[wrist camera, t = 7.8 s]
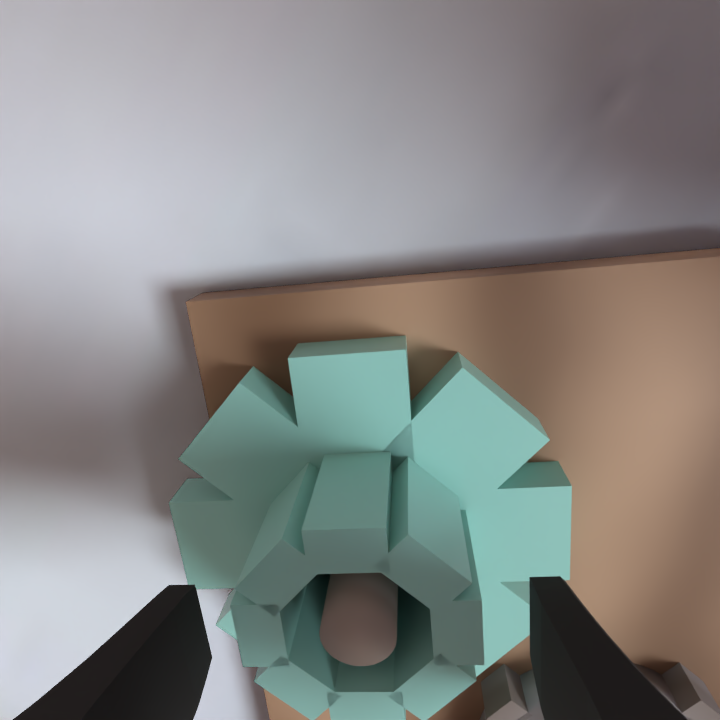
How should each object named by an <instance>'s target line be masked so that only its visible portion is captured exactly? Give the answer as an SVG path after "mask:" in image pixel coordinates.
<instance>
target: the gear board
mask: <svg viewBox="0 0 720 720" xmlns="http://www.w3.org/2000/svg"><path fill="white" fill-rule="evenodd" d="M186 306H187V311H188V316H189V321H190V326H191V331H192V336H193V341H194V346H195V351H196V356H197V361H198V365H199V370H200V375H201V380H202V385H203V390H204V395H205V400H206V405H207V410H208V415H209V420H210V419H211V417H212V416H213V415H214V414H215V412H216V411H217V410H218V409H219V407H220V406H221V405H222V404H223V402H224V401H225V400H226V399H227V397H228V396H229V395H230V394H231V392H232V391H233V390H234V389H235V387H236V386H237V385H238V384H239V382H240V381H241V380H242V379H243V378H244V376H245V375H246V374H247V373H248V372H249V371H250V369H251V368H252V367H253V366H254V367H255V368H256V369H258V370H259V371H260V372H262V373H263V374H264V375H265V376H267V377H268V378H269V379H271V380H272V381H273V382H275V383H276V384H277V385H278V386H280V387H281V388H282V389H284V390H285V391H286V392H287V393H289V394H290V395H291V396H293V391H292V384H291V377H290V370H289V364H288V357H289V355H290V354H291V353H292V351H293V350H294V348H295V347H296V345H297V344H298V343H310V342H323V341H337V340H350V339H364V338H377V337H390V336H404V335H406V343H407V356H408V369H409V382H410V395H411V401H412V400H413V399H414V398H415V396H416V395H417V394H418V393H419V392H420V391H421V390H422V389H423V388H424V387H425V386H426V385H427V384H428V383H429V382H430V381H431V380H432V378H433V377H434V376H435V375H436V374H437V373H438V372H439V371H440V370H441V369H442V368H443V367H444V366H445V365H446V364H447V363H448V361H449V360H450V359H451V358H452V357H453V356H454V355H455V354H456V353H457V352H459V353H460V354H461V355H462V356H464V357H465V358H466V359H467V360H468V361H470V362H471V363H472V364H473V365H474V366H476V367H477V368H478V369H479V370H480V371H482V372H483V373H484V374H485V375H486V376H488V377H489V378H490V379H491V380H492V381H494V382H495V383H496V384H497V385H498V386H500V387H501V388H502V389H503V390H504V391H506V392H507V393H508V394H509V395H510V396H512V397H513V398H514V399H515V400H516V401H518V402H519V403H520V404H521V405H522V406H524V407H525V408H526V409H527V410H528V411H529V412H531V413H532V414H533V415H534V416H535V417H537V418H538V420H539V421H540V423H541V425H542V427H543V428H544V430H545V432H546V434H547V436H548V437H549V439H550V441H548V442H547V443H546V444H545V445H544V446H543V447H542V448H541V449H540V450H539V451H538V452H537V453H535V454H534V455H533V456H532V457H531V458H530V459H529V460H528V461H527V462H526V463H530V462H551V461H558V462H559V463H560V465H561V467H562V469H563V471H564V473H565V474H566V476H567V478H568V480H569V482H570V483H571V485H572V503H571V549H570V580H565V581H566V582H567V584H568V585H569V586H570V588H571V589H572V590H573V592H574V593H575V594H576V596H577V597H578V598H579V600H580V601H581V602H582V603H583V605H584V606H585V607H586V608H587V610H588V611H589V612H590V614H591V615H592V616H593V617H594V618H595V620H596V621H597V622H598V623H599V624H600V626H601V627H602V628H603V629H604V630H605V632H606V633H607V634H608V635H609V636H610V638H611V639H612V640H613V641H614V642H615V643H616V644H617V646H618V647H619V648H620V649H621V650H622V651H623V652H624V653H625V654H626V656H627V657H628V658H629V659H630V660H631V661H632V662H633V663H634V665H635V666H636V667H637V668H638V669H639V670H640V671H641V672H642V673H643V674H644V675H645V676H646V678H647V679H648V680H649V681H650V682H651V683H652V684H653V685H654V686H655V687H656V688H657V689H658V690H659V691H660V692H661V693H662V694H663V695H664V696H665V697H666V698H667V699H668V700H669V701H670V702H671V703H672V704H673V705H674V706H675V707H676V708H677V709H678V710H679V711H680V712H681V713H682V714H683V715H684V716H685V717H686V718H687V719H688V720H720V248H714V249H702V250H691V251H679V252H668V253H656V254H644V255H633V256H621V257H610V258H598V259H587V260H575V261H564V262H552V263H541V264H529V265H517V266H506V267H494V268H483V269H471V270H460V271H448V272H437V273H425V274H414V275H402V276H390V277H379V278H367V279H356V280H344V281H333V282H321V283H310V284H298V285H287V286H275V287H263V288H252V289H240V290H229V291H217V292H206V293H202V294H200V295H198V296H196V297H194V298H192V299H190V300H188V301H187V302H186ZM397 606H398V585H397V584H396V583H394V582H393V581H392V580H390V579H389V578H388V577H386V576H385V575H384V574H382V573H344V574H330V579H329V584H328V589H327V594H326V599H325V604H324V609H323V614H322V620H321V625H320V631H319V634H320V640H321V643H322V645H323V647H324V648H325V650H326V651H327V652H328V653H329V654H330V655H331V656H332V657H334V658H335V659H337V660H338V661H340V662H343V663H345V664H349V665H353V666H369V665H374V664H377V663H379V662H381V661H383V660H385V659H386V658H387V657H388V656H389V655H390V654H391V653H392V652H393V650H394V648H395V646H396V641H397ZM476 680H477V681H476V682H474V683H473V684H472V685H470V686H469V687H468V688H467V689H465V690H464V691H463V692H462V693H460V694H459V695H458V696H457V697H455V698H454V699H453V700H451V701H450V702H449V703H448V704H446V705H445V706H444V707H443V708H441V709H440V710H439V711H437V712H436V713H435V714H434V715H432V716H431V717H430V718H429V719H427V720H544V717H543V714H542V710H541V707H540V702H539V697H538V693H537V688H536V683H535V678H534V673H533V668H532V663H531V658H530V635H529V636H527V637H526V638H525V639H524V640H522V641H521V642H520V643H519V644H517V645H516V646H515V647H514V648H512V649H511V650H510V651H509V652H507V653H506V654H505V655H503V656H502V657H501V658H500V659H498V660H497V661H496V662H495V663H493V664H492V665H491V666H490V667H488V668H487V669H486V670H484V671H483V672H482V673H481V674H479V675H478V676H477V677H476ZM264 693H265V698H266V703H267V708H268V713H269V718H270V720H310V719H308V718H307V717H305V716H304V715H302V714H301V713H299V712H298V711H297V710H295V709H294V708H292V707H291V706H289V705H288V704H286V703H285V702H283V701H282V700H280V699H279V698H277V697H276V696H274V695H273V694H271V693H270V692H268V691H267V690H265V689H264ZM315 720H331V718H330V712H329V708H328V709H327V710H325V711H324V712H323V713H322V714H321V715H320V716H318V717H317V718H316V719H315ZM406 720H421V719H419V718H418V717H416V716H415V715H414V714H412V713H411V712H409V711H408V710H406Z"/></svg>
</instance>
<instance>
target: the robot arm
mask: <svg viewBox="0 0 720 720" xmlns="http://www.w3.org/2000/svg"><path fill="white" fill-rule="evenodd" d="M529 589H530V658H531V663H532V668H533V673H534V678H535V683H536V688H537V693H538V697H539V702H540V707H541V710H542V714H543V717H544V720H688V719H687V718H686V717H685V716H684V715H683V714H682V713H681V712H680V711H679V710H678V709H677V708H676V707H675V706H674V705H673V704H672V703H671V702H670V701H669V700H668V699H667V698H666V697H665V696H664V695H663V694H662V693H661V692H660V691H659V690H658V689H657V688H656V687H655V686H654V685H653V684H652V683H651V682H650V681H649V680H648V679H647V678H646V676H645V675H644V674H643V673H642V672H641V671H640V670H639V669H638V668H637V667H636V666H635V665H634V663H633V662H632V661H631V660H630V659H629V658H628V657H627V656H626V654H625V653H624V652H623V651H622V650H621V649H620V648H619V647H618V646H617V644H616V643H615V642H614V641H613V640H612V639H611V638H610V636H609V635H608V634H607V633H606V632H605V630H604V629H603V628H602V627H601V626H600V624H599V623H598V622H597V621H596V620H595V618H594V617H593V616H592V615H591V614H590V612H589V611H588V610H587V608H586V607H585V606H584V605H583V603H582V602H581V601H580V600H579V598H578V597H577V596H576V594H575V593H574V592H573V590H572V589H571V588H570V586H569V585H568V584H567V582H566V581H565V580H564V579H563V578H561V577H560V576H549V577H529ZM211 659H212V655H211V651H210V647H209V642H208V638H207V634H206V630H205V625H204V621H203V617H202V612H201V608H200V604H199V600H198V595H197V591H196V587H195V585H169V586H167V587H166V588H165V589H164V590H163V591H162V592H160V593H159V594H158V595H157V596H156V597H155V598H154V599H152V600H151V601H150V602H149V603H148V604H147V605H146V606H145V607H144V608H143V609H142V610H140V611H139V612H138V613H137V614H136V615H135V616H134V617H133V618H132V619H131V620H130V621H128V622H127V623H126V624H125V625H124V626H123V627H122V628H121V629H120V630H119V631H118V632H116V633H115V634H114V635H113V636H112V637H111V638H110V639H109V640H108V641H106V642H105V643H104V644H103V645H102V646H101V647H100V648H99V649H98V650H96V651H95V652H94V653H93V654H92V655H91V656H90V657H89V658H87V659H86V660H85V661H84V662H83V663H82V664H80V665H79V666H78V667H77V668H76V669H74V670H73V671H72V672H71V673H70V674H69V675H67V676H66V677H65V678H64V679H63V680H61V681H60V682H59V683H58V684H57V685H55V686H54V687H53V688H52V689H51V690H49V691H48V692H47V693H46V694H45V695H44V696H42V697H41V698H40V699H39V700H37V701H36V702H35V703H34V704H32V705H31V706H30V707H29V708H27V709H26V710H25V711H23V712H22V713H21V714H20V715H18V716H17V717H16V718H14V719H13V720H193V718H194V716H195V713H196V711H197V708H198V705H199V702H200V698H201V695H202V692H203V688H204V685H205V681H206V678H207V674H208V670H209V667H210V663H211Z"/></svg>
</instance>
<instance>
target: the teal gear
mask: <svg viewBox="0 0 720 720" xmlns="http://www.w3.org/2000/svg"><path fill="white" fill-rule="evenodd" d="M288 364H289V370H290V377H291V384H292V391H293V396H291V395H290V394H289V393H287V392H286V391H285V390H284V389H282V388H281V387H280V386H278V385H277V384H276V383H275V382H273V381H272V380H271V379H269V378H268V377H267V376H265V375H264V374H263V373H262V372H260V371H259V370H258V369H256V368H255V367H254V366H253V367H252V368H251V369H250V371H249V372H248V373H247V374H246V375H245V376H244V378H243V379H242V380H241V381H240V382H239V384H238V385H237V386H236V387H235V389H234V390H233V391H232V392H231V394H230V395H229V396H228V397H227V399H226V400H225V401H224V402H223V404H222V405H221V406H220V407H219V409H218V410H217V411H216V412H215V414H214V415H213V416H212V417H211V419H210V420H209V421H208V422H207V424H206V425H205V426H204V427H203V429H202V430H201V431H200V432H199V434H198V435H197V436H196V437H195V439H194V440H193V441H192V442H191V444H190V445H189V446H188V447H187V449H186V450H185V451H184V452H183V454H182V455H181V456H180V457H179V459H178V460H180V461H181V462H182V463H184V464H185V465H187V466H188V467H189V468H191V469H192V470H193V471H195V472H196V473H198V474H199V475H200V476H202V477H203V478H192V479H186V481H185V482H184V483H183V485H182V486H181V487H180V489H179V490H178V491H177V493H176V494H175V495H174V497H173V498H172V499H171V501H170V502H169V506H170V510H171V515H172V519H173V523H174V527H175V531H176V535H177V540H178V544H179V548H180V552H181V556H182V561H183V565H184V569H185V573H186V577H187V582H188V585H195V587H196V589H221V588H234V589H233V590H232V591H231V592H230V594H229V595H228V598H227V600H226V602H225V605H224V607H223V609H222V611H221V614H220V616H219V618H218V621H217V623H216V626H218V627H219V628H220V629H222V630H223V631H225V632H226V633H228V634H229V635H231V636H232V637H234V638H235V639H236V640H237V641H238V646H239V650H240V655H241V660H242V665H243V667H258V669H257V673H256V676H255V679H254V682H255V683H257V684H258V685H260V686H261V687H263V688H264V689H265V690H267V691H268V692H270V693H271V694H273V695H274V696H276V697H277V698H279V699H280V700H282V701H283V702H285V703H286V704H288V705H289V706H291V707H292V708H294V709H295V710H297V711H298V712H299V713H301V714H302V715H304V716H305V717H307V718H308V719H310V720H315V719H316V718H317V717H318V716H320V715H321V714H322V713H323V712H324V711H325V710H327V709H328V708H329V712H330V718H331V720H406V710H408V711H409V712H411V713H412V714H414V715H415V716H416V717H418V718H419V719H421V720H427V719H429V718H430V717H431V716H432V715H434V714H435V713H436V712H437V711H439V710H440V709H441V708H443V707H444V706H445V705H446V704H448V703H449V702H450V701H451V700H453V699H454V698H455V697H457V696H458V695H459V694H460V693H462V692H463V691H464V690H465V689H467V688H468V687H469V686H470V685H472V684H473V683H474V682H476V681H477V680H476V677H477V676H478V675H479V674H481V673H482V672H483V671H484V670H486V669H487V668H488V667H490V666H491V665H492V664H493V663H495V662H496V661H497V660H498V659H500V658H501V657H502V656H503V655H505V654H506V653H507V652H509V651H510V650H511V649H512V648H514V647H515V646H516V645H517V644H519V643H520V642H521V641H522V640H524V639H525V638H526V637H527V636H529V635H530V589H529V577H549V576H560V577H561V578H563V579H564V580H570V549H571V503H572V485H571V483H570V482H569V480H568V478H567V476H566V474H565V473H564V471H563V469H562V467H561V465H560V463H559V462H558V461H551V462H530V463H526V462H527V461H528V460H529V459H530V458H531V457H532V456H533V455H534V454H535V453H537V452H538V451H539V450H540V449H541V448H542V447H543V446H544V445H545V444H546V443H547V442H548V441H550V439H549V437H548V436H547V434H546V432H545V430H544V428H543V427H542V425H541V423H540V421H539V420H538V418H537V417H535V416H534V415H533V414H532V413H531V412H529V411H528V410H527V409H526V408H525V407H524V406H522V405H521V404H520V403H519V402H518V401H516V400H515V399H514V398H513V397H512V396H510V395H509V394H508V393H507V392H506V391H504V390H503V389H502V388H501V387H500V386H498V385H497V384H496V383H495V382H494V381H492V380H491V379H490V378H489V377H488V376H486V375H485V374H484V373H483V372H482V371H480V370H479V369H478V368H477V367H476V366H474V365H473V364H472V363H471V362H470V361H468V360H467V359H466V358H465V357H464V356H462V355H461V354H460V353H459V352H457V353H456V354H455V355H454V356H453V357H452V358H451V359H450V360H449V361H448V363H447V364H446V365H445V366H444V367H443V368H442V369H441V370H440V371H439V372H438V373H437V374H436V375H435V376H434V377H433V378H432V380H431V381H430V382H429V383H428V384H427V385H426V386H425V387H424V388H423V389H422V390H421V391H420V392H419V393H418V394H417V395H416V396H415V398H414V399H413V400H412V401H411V395H410V382H409V369H408V356H407V343H406V335H404V336H390V337H377V338H364V339H350V340H337V341H323V342H310V343H298V344H297V345H296V347H295V348H294V350H293V351H292V353H291V354H290V355H289V357H288ZM344 573H382V574H384V575H385V576H386V577H388V578H389V579H390V580H392V581H393V582H394V583H396V584H397V585H398V606H397V641H396V646H395V648H394V650H393V652H392V653H391V654H390V655H389V656H388V657H387V658H386V659H385V660H383V661H381V662H379V663H377V664H374V665H369V666H353V665H349V664H345V663H343V662H340V661H338V660H337V659H335V658H334V657H332V656H331V655H330V654H329V653H328V652H327V651H326V650H325V648H324V647H323V645H322V643H321V640H320V634H319V631H320V625H321V620H322V614H323V609H324V604H325V599H326V594H327V589H328V584H329V579H330V574H344Z"/></svg>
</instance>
